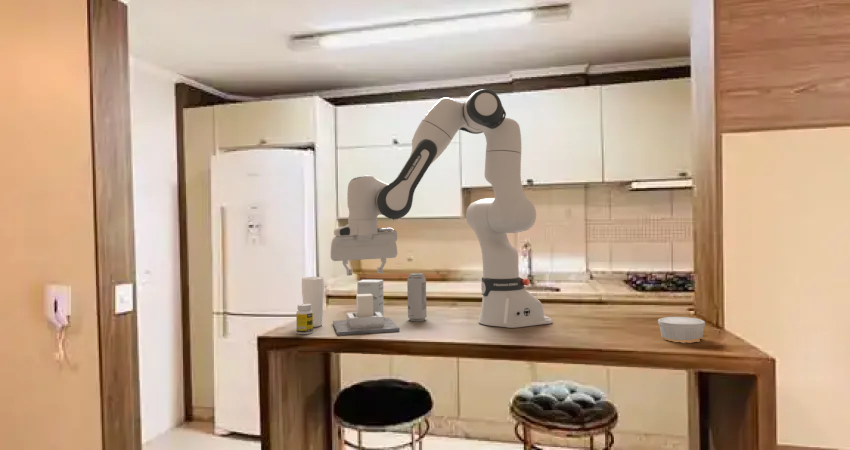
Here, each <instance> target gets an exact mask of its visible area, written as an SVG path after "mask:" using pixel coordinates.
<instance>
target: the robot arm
mask: <svg viewBox="0 0 850 450" xmlns="http://www.w3.org/2000/svg"><path fill="white" fill-rule="evenodd" d="M458 131H463V132H467V133H469V134H473V135H474V134H475V135H479V134H482V133H483V135H484V137H485V143H486V145H485V147H486V148H485V156H484V157H485V160H484V179H485V180H486V181H487V182H488V184H490V185H491V187H492V189H493V195H494V197H488V198H487V197H486V198H481V199H478V200H476V201H473V202H471V203H470V204H469V205H468V207H467V209H466V211H465V217H466V222H467V224H468V226H469V227H470V228H471V229H472V230H473V231H474V234H475V235H476V238H477V240H478V242H479V247H480V251H481V259H482V277H481V295H482V301H481V308H480V309H481V310H480V314H479V318H478V323H479V324H481V325H485V326H490V327H491V326H492V327H503V328H508V329H509V328H510V329H514V328H523V327H531V326H538V325H539V326H540V325H549V324H552V318H551V317H549V316H547V315H545V312H544V306H543V304H542V301H540V300H539V299H538V298H537V297H535V296H534V295H533V294H532V293H530V291H528V290H526V289H525V286H526V287H528V286H530V284H531V281H530V279H529V278H522V277H520V276H519V274H520V273H519V252H518V250H517V249H516V248H515V247H514V246H513V245H512V244H511V243H510V241H509V238H508V234H517V233H523V232H525V231H528V230H530V229H532V228H533V227H534V225H535V222H536V220H537V210H536V206H535V205H534V203H533V202H532V201H531V200H530V199H529V198H528V197H527V195H526V193H525V191H524V187H523V184H522V177H521V170H522V169H521V166H522V165H521V163H522V135H521V134H522V133H521V126H520V124H519V123H518V122H517V121H516V120H515V119H512V118H510V117H507V112H506V111H505V108H504V106H503V104H502V101H501V99H500V97H499V95H498V94H497V93H496V92H495V91H493V90H491V89H489V88H488V89H486V88H484V89H478V90H476V91H474V92H472V93H471V95H469V97H468V98H467V99H466V101H464V102H459V101H457V100H455V99H453V98H450V97H442V98H440V99H438V100H437V102H435V104H433V105H432V107H431V108H430V109H429V110H428V111H427V113H426V114H425V115H424V117H423V118H422V119H421V121H420V123H419V124H418V126H417V128H416V130H415V131H414V134H413V136H412V140H411V153H410V156H409V158H408V159H407V161H406V162H405V164H404V165H403V167H402V169H401V171H400V172H399V173H398V175H397V177H396V178H395V179H394V180H393V181H392V182H391V183H387V182H384V181H382V180H381V179H380V180H379V179H378V178H376V177H375V176H374V175H371V174H367V175H361V176H360V175H359V176H357V177H353V178H352V179H351V180H350V181H349V182H348V185H347V198H346V199H347V208H348V218H347V224H344V225H341V226H339V227H337V228H335V229H334V230H333V234H334V237H333V238H332V240H331V242H330V259H331V260H332V261H333V262H342V265H343V267H344V268H345V270H346V276H353V269H352V268H349V267H348V264H349V261H359V260H360V261H361V260H364V261H365V260H377V259H380V262H381V264H380V266H379V267H378V266H377V267H376V268H377V274H384V267H385V265H386V264H387V259H395V258H396V257H397V256H398V247H397V240H398V233H397V232H398V231H396V230H395V229H394V228H392V227H382V228H381V227H380V228H379V227H378V226H379V225H378V224H379V223H378V216H380V215H382V216H383V217H385V218H386V219H387V218H388V219H391V220H397V219H401V218H404V217H405V216H406V215H408V213H409V212H410V210H411V208H412V205H413V200H414V194H415V191H416V188H417V187H418V185H419V184H420V182H421V180H422V179H423V177H424V175H425V174H426V172H427V170H428V169H429V167H430V166H431V165H432V164H433V163H434V162H435V161H436V160H437V159H438V158H439V157H440V156H441V155H442V154H443V153H444V151H445V150H446V149H447V148H448V147H449V145H450V143H451V142H452V140H453V139H454V137H455V135H456V134H457V133H458Z"/></svg>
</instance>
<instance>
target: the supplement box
mask: <svg viewBox="0 0 850 450" xmlns="http://www.w3.org/2000/svg"><path fill="white" fill-rule="evenodd" d="M356 290H357V293H356V294H372V295H373V311H379V312H380V313H381V314H382V315H383V316H384V279H360V280H359V281H357V289H356Z"/></svg>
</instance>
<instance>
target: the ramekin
mask: <svg viewBox="0 0 850 450" xmlns="http://www.w3.org/2000/svg"><path fill="white" fill-rule="evenodd" d="M657 323H658V325H659V332H660V334H661V338H662V337H664V338H668V339H674V340H693V339H698V338H701V337H702V338H703V337H704V330H705V326H706V321H705V320H702V319H700V318H696V317H687V316H666V317H660V318H658V319H657Z"/></svg>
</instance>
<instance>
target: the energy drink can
mask: <svg viewBox="0 0 850 450" xmlns="http://www.w3.org/2000/svg"><path fill="white" fill-rule="evenodd" d="M424 274H425V273H422V272H411V273H408V277H407V279H406V280H407V281H406V282H407V318H408V319H409V321H410V322H424V321H425V320H426V318H427V279H426V277H425V275H424Z"/></svg>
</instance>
